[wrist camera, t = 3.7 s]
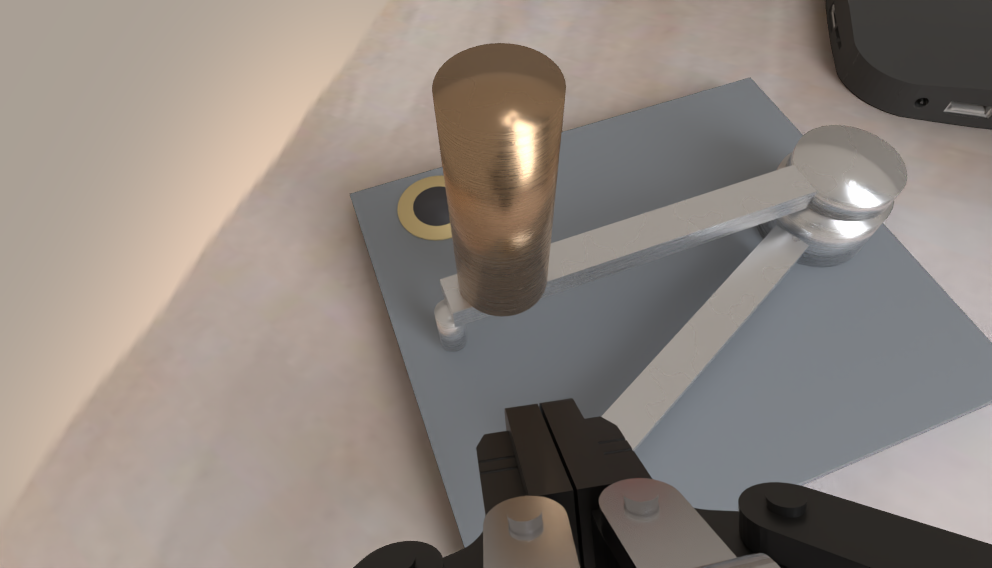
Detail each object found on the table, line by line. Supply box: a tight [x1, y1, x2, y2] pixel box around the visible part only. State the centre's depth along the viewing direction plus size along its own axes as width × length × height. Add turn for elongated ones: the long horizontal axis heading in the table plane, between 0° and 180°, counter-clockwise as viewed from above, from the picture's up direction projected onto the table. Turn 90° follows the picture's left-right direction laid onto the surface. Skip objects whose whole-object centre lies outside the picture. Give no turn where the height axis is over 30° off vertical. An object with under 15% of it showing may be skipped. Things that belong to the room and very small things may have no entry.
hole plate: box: [350, 78, 992, 548], centre depth 25 cm, size 21×18×2 cm
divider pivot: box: [601, 152, 894, 451], centre depth 23 cm, size 19×4×2 cm, turn 131°
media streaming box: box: [826, 0, 992, 129], centre depth 34 cm, size 15×15×3 cm
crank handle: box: [432, 43, 907, 352], centre depth 20 cm, size 18×4×11 cm, turn 111°
